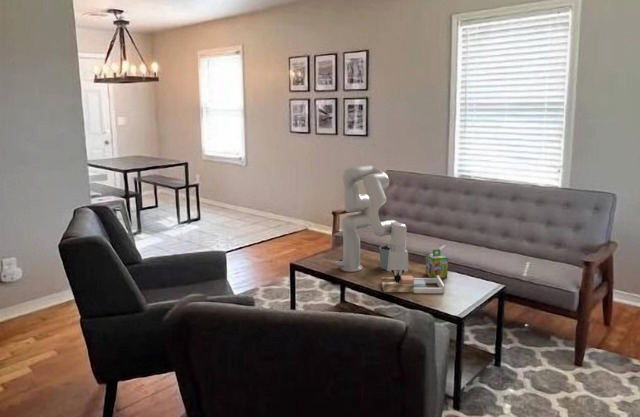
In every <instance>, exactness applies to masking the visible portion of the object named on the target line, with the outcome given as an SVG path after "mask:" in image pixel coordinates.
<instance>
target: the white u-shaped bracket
mask: <svg viewBox="0 0 640 417" xmlns="http://www.w3.org/2000/svg"><path fill="white" fill-rule="evenodd" d="M413 278H414V280H424V281H425V283H426V284H437V286H438V287H426V288H414V292H413V293H414V294H445V288H446V286H445V284H444V282H443V281H442V278H440V277H439V275H437V278H431V277H413Z"/></svg>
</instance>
